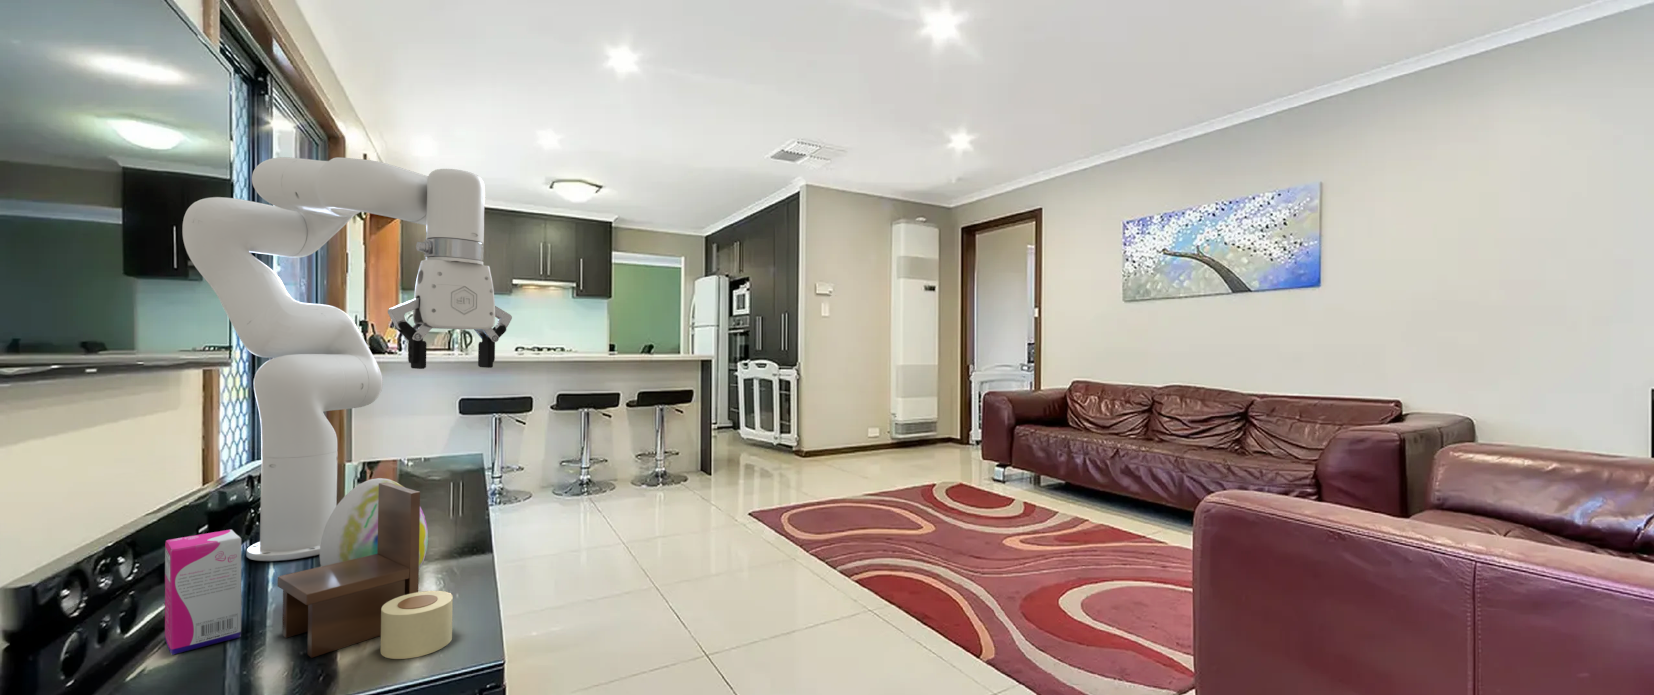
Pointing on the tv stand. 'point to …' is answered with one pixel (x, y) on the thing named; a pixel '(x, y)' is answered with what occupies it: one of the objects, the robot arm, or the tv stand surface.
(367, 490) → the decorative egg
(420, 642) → the tape roll
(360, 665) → the tv stand surface
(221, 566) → the supplement box
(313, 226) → the robot arm
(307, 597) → the wooden toy chair
